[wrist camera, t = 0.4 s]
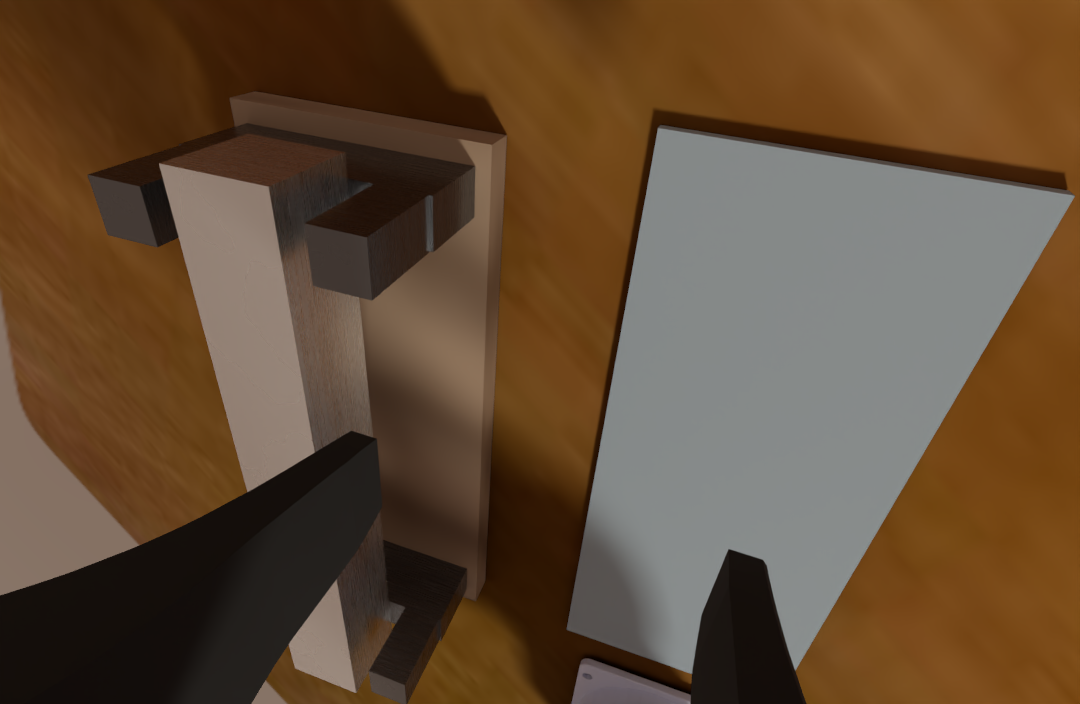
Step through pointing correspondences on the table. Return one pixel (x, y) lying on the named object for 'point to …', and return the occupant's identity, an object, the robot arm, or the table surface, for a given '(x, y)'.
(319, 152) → the rail
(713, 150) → the mat
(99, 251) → the table surface
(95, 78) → the table surface
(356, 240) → the rack
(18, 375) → the table surface
